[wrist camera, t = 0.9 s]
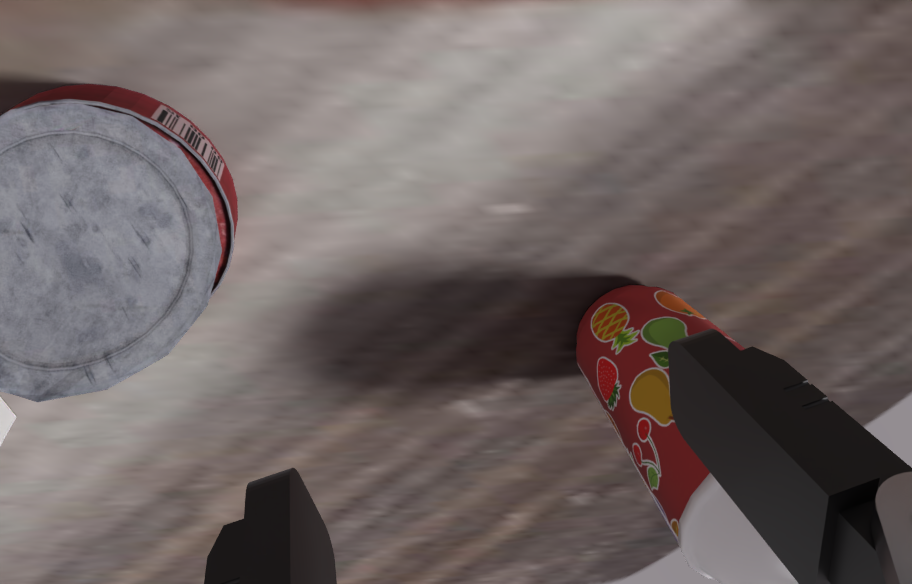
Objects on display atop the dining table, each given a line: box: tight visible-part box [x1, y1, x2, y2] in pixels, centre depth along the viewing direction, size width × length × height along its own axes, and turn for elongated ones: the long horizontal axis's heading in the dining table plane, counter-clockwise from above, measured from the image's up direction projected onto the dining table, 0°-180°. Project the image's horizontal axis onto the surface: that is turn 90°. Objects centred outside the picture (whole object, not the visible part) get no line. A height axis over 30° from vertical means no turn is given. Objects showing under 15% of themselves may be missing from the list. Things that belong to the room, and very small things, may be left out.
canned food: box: [0, 84, 238, 402], centre depth 24 cm, size 11×10×10 cm
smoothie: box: [576, 285, 799, 584], centre depth 28 cm, size 8×8×20 cm
